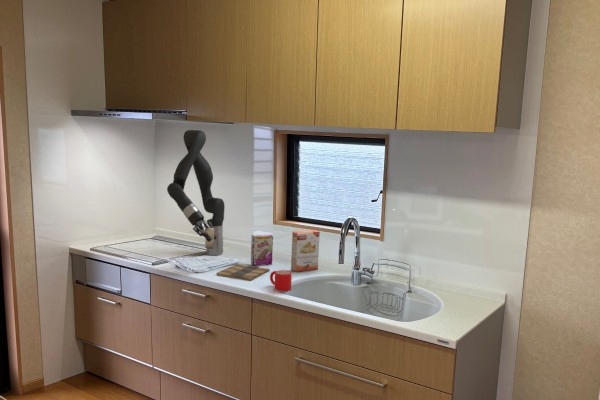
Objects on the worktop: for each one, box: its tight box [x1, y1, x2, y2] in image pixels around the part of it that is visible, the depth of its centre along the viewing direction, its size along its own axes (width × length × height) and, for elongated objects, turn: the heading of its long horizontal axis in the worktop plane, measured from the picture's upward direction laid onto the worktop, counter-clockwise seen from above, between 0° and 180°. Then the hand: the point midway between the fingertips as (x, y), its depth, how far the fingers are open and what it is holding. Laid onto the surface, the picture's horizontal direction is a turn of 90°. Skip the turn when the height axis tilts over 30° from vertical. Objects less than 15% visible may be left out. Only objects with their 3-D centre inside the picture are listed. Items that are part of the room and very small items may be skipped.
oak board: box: [216, 263, 270, 282], centre depth 275 cm, size 20×20×1 cm
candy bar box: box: [250, 233, 274, 266], centre depth 292 cm, size 11×5×16 cm, turn 110°
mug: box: [269, 269, 293, 292], centre depth 252 cm, size 8×12×8 cm, turn 54°
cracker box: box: [290, 229, 321, 273], centre depth 284 cm, size 14×6×21 cm, turn 121°
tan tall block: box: [204, 228, 214, 250], centre depth 276 cm, size 4×4×10 cm
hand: (212, 239), depth 276 cm, fingers closed on tan tall block, 4 cm apart
